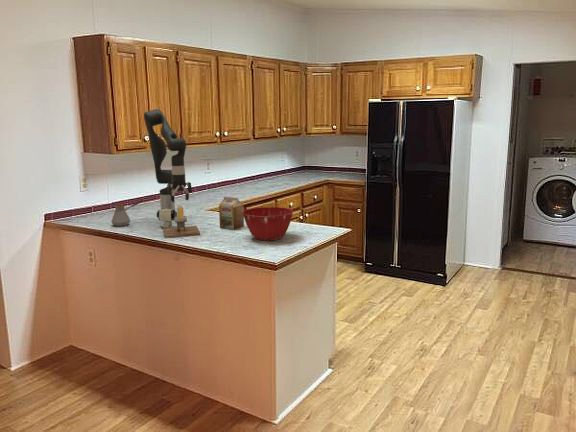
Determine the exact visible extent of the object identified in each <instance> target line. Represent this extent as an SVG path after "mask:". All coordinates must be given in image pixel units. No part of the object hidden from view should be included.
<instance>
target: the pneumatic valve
mask: <svg viewBox="0 0 576 432" xmlns="http://www.w3.org/2000/svg"><path fill="white" fill-rule="evenodd" d="M175 216H178V213H177V210H176V208H175V209H167V208H166V209H161V208H160V209H158V210H157V212H156V218H158V221H163V222H162V226H163V228H172V227H173V222H172V221H175V220H174V219H175V218H174V217H175Z"/></svg>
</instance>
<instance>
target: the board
mask: <svg viewBox="0 0 576 432" xmlns="http://www.w3.org/2000/svg"><path fill="white" fill-rule="evenodd" d="M162 232H163V236H164V239H172V238H185V237H198V236H201V231H200V229H199V228H198V226H197V225H188V226H187V225H186V222H185V223H176V226H174V227H173V226H171V227H163V228H162Z"/></svg>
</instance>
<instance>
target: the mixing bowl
mask: <svg viewBox="0 0 576 432" xmlns="http://www.w3.org/2000/svg"><path fill="white" fill-rule="evenodd" d="M242 213H243V215H244V223H245V224H246V226H247V229H248V231H249V232H250V234H251V236H253V238H255V239H257V240H259V241H268V242H270V241H277V240H280V239H281V238H282V237H284V236H285V235H286V233H287V231H288V229H289V227H290V225H291V221H292V218H293V213H294V210H293V209H291V208H287V207H281V206H279V207H277V206H267V207H266V206H263V207H253V208H249V209H245V210H244V211H243V212H242Z"/></svg>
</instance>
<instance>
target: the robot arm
mask: <svg viewBox="0 0 576 432" xmlns="http://www.w3.org/2000/svg"><path fill="white" fill-rule="evenodd" d="M143 120H144V123H145V127H146V131H147V134H148V139H149V145H150V150H151V155H152V159H153V163H154V171H155V178H156V182H157V184H160V185H161V184H163V185H164V184H165V185H166V187H163V188H161V189H159V202H160V203H159V204H160V209H166V208H167V209H175V210H176V204H175V194H176V193H177V192H181V191H183V192H185V193H184V194H185V201H189V199H190V195H189V194H190V193H192V192H193V191H192V182H190V181H188V182H187V181H186V168H185V154H186V149H187V143H186V140H185V139H184V138H181V137H180V138H178V136H177V135H178V134H177V133H176V132H175V131H174V130H173V128H171V125H170V124H169V122H168V120H167V118H166V116H165V115H164V113H163V112H162V110H161V109H159V108H155V109H152V110H148V111H145V112H144V113H143ZM159 125H161V127H160V134H161V135H160V136H159V134H157V132H156V131H155V130H154V127H156V126H159ZM164 140H165V141H164ZM167 149H168V150H169V151H170V152H177V154H174V155H171V157H170V158H171V159H170V160H171V169H162V164H163V161H164V160H165V158H166V156H167V154H168V151H167ZM186 187H187V188H186ZM173 221H175V219H174V220H173Z"/></svg>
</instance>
